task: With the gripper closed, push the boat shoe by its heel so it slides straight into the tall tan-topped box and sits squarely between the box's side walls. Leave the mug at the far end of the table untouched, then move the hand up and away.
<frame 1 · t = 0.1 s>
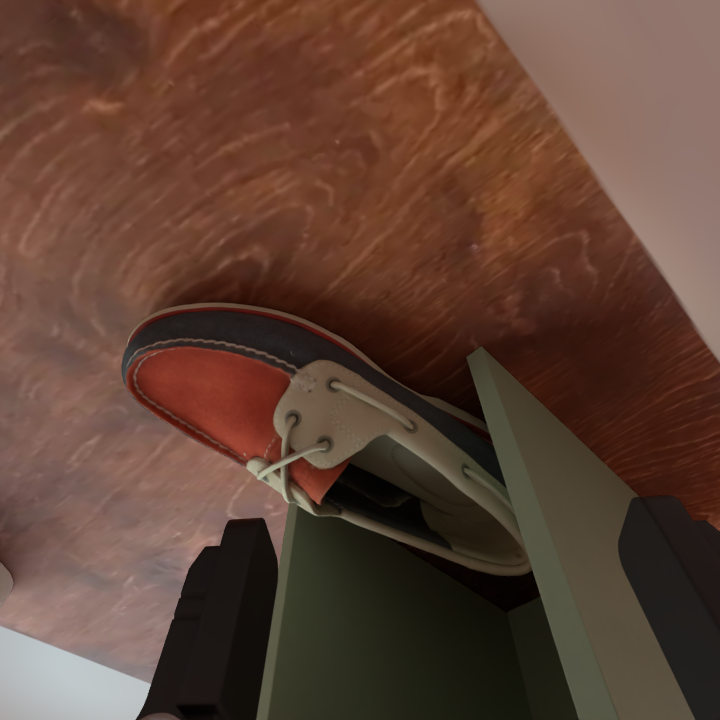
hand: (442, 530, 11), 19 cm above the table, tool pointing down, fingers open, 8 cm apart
boat shoe: (344, 400, 33), on the table
tall tan-topped box: (495, 515, 39), on the table
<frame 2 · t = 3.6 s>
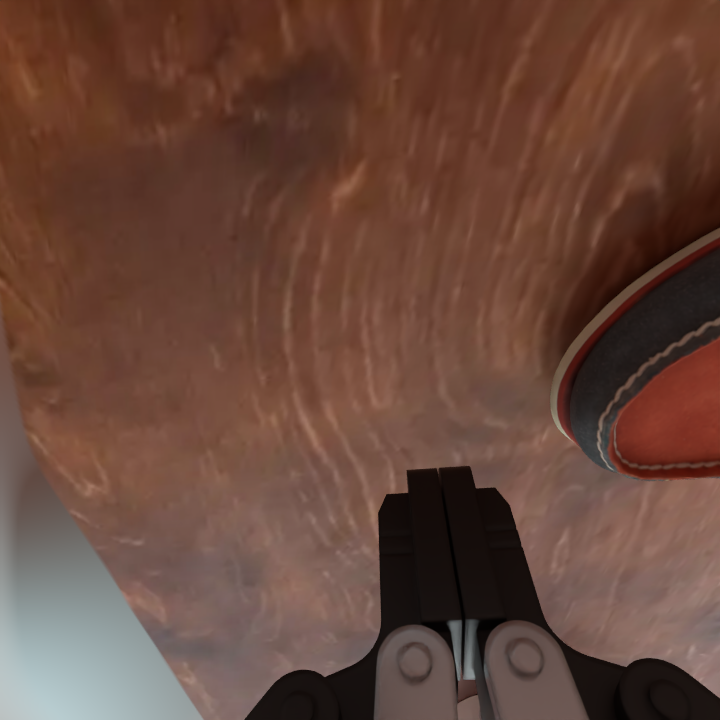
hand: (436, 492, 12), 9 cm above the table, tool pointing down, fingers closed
mug: (505, 707, 40), on the table
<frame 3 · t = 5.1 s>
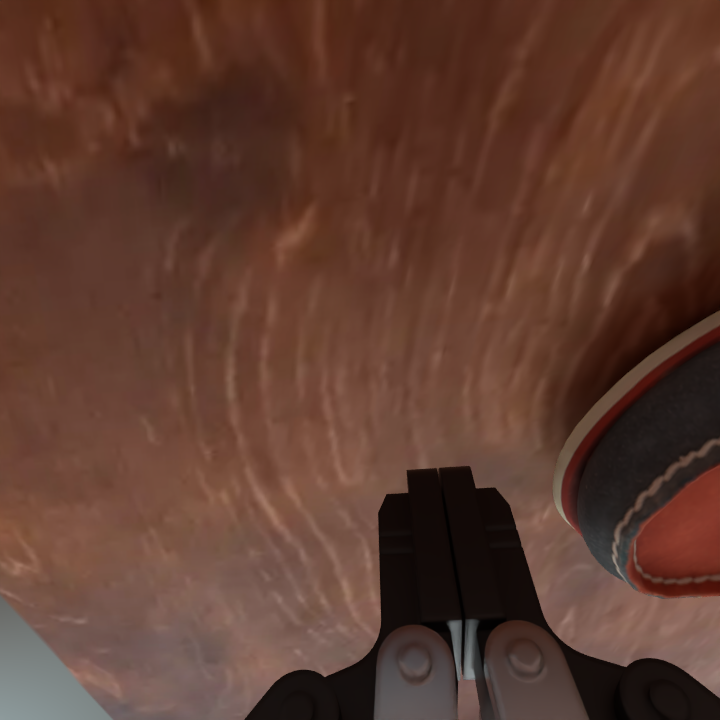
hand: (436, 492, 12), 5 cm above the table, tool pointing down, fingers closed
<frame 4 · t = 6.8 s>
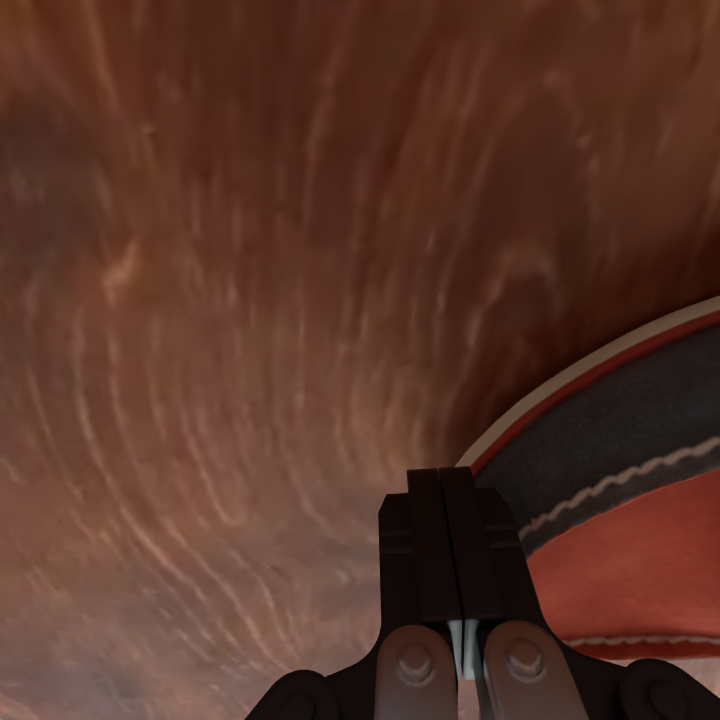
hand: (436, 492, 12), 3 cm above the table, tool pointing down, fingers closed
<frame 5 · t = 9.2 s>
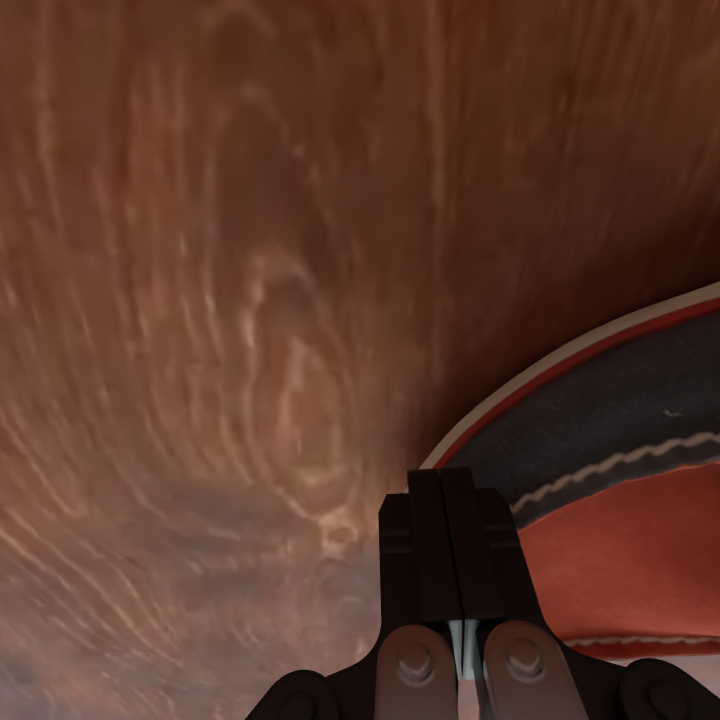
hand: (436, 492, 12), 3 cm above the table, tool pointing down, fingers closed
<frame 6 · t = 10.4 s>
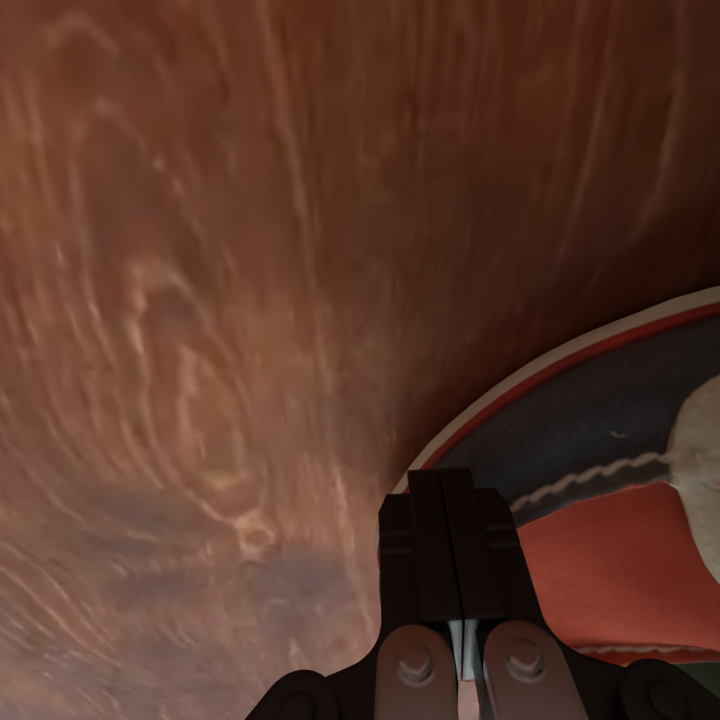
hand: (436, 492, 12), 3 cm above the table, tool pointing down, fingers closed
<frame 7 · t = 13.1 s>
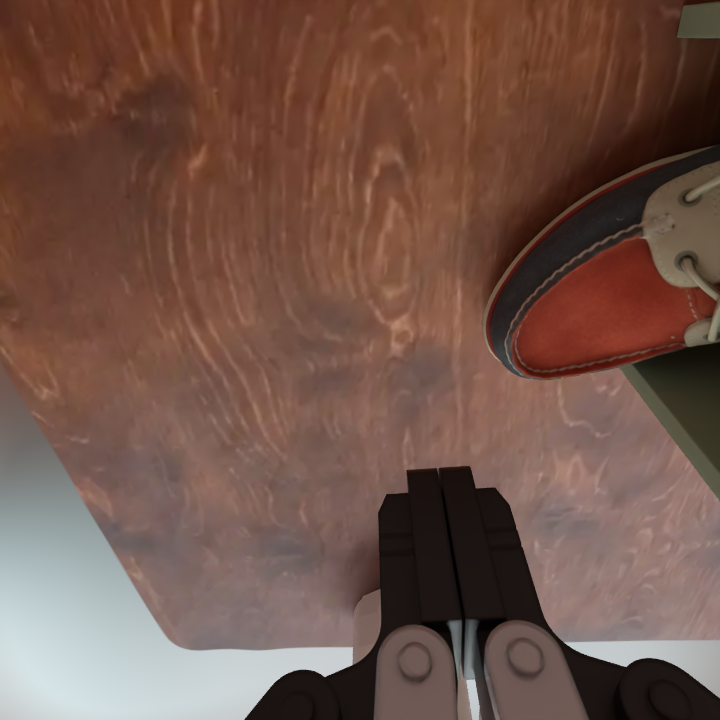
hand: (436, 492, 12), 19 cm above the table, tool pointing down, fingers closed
boat shoe: (707, 213, 27), on the table
mug: (401, 606, 49), on the table
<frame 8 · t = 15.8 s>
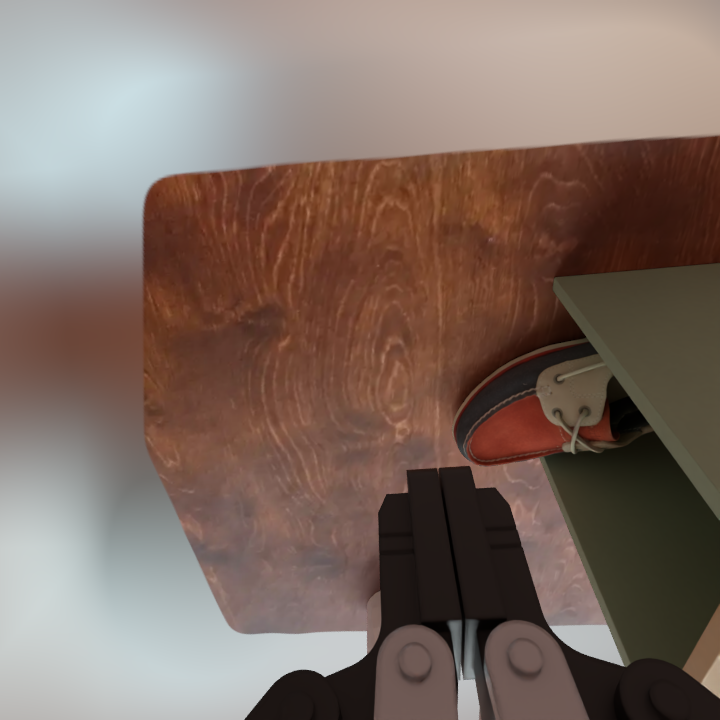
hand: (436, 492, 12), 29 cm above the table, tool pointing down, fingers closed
boat shoe: (583, 368, 45), on the table
tall tan-topped box: (694, 357, 44), on the table
mug: (401, 600, 67), on the table
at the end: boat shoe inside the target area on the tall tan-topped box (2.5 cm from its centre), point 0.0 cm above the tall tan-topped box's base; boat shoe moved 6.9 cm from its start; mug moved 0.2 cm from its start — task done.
